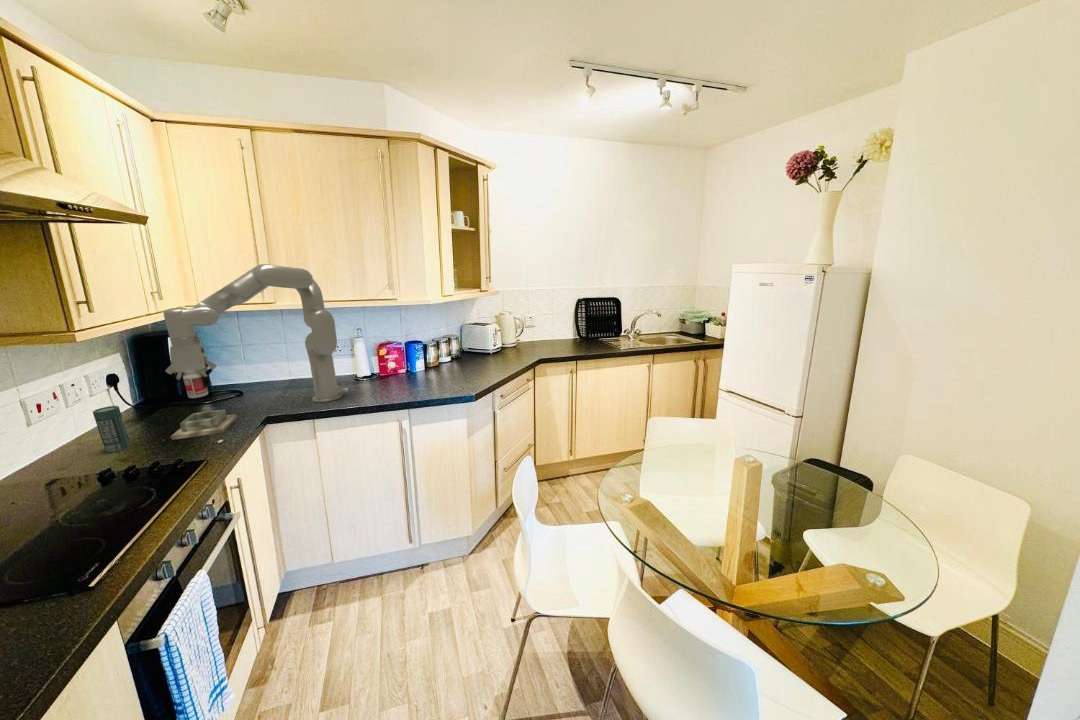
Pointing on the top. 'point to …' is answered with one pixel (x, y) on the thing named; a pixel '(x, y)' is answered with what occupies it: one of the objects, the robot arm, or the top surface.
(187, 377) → the pill bottle
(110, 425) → the can
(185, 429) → the socket board
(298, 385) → the top surface
